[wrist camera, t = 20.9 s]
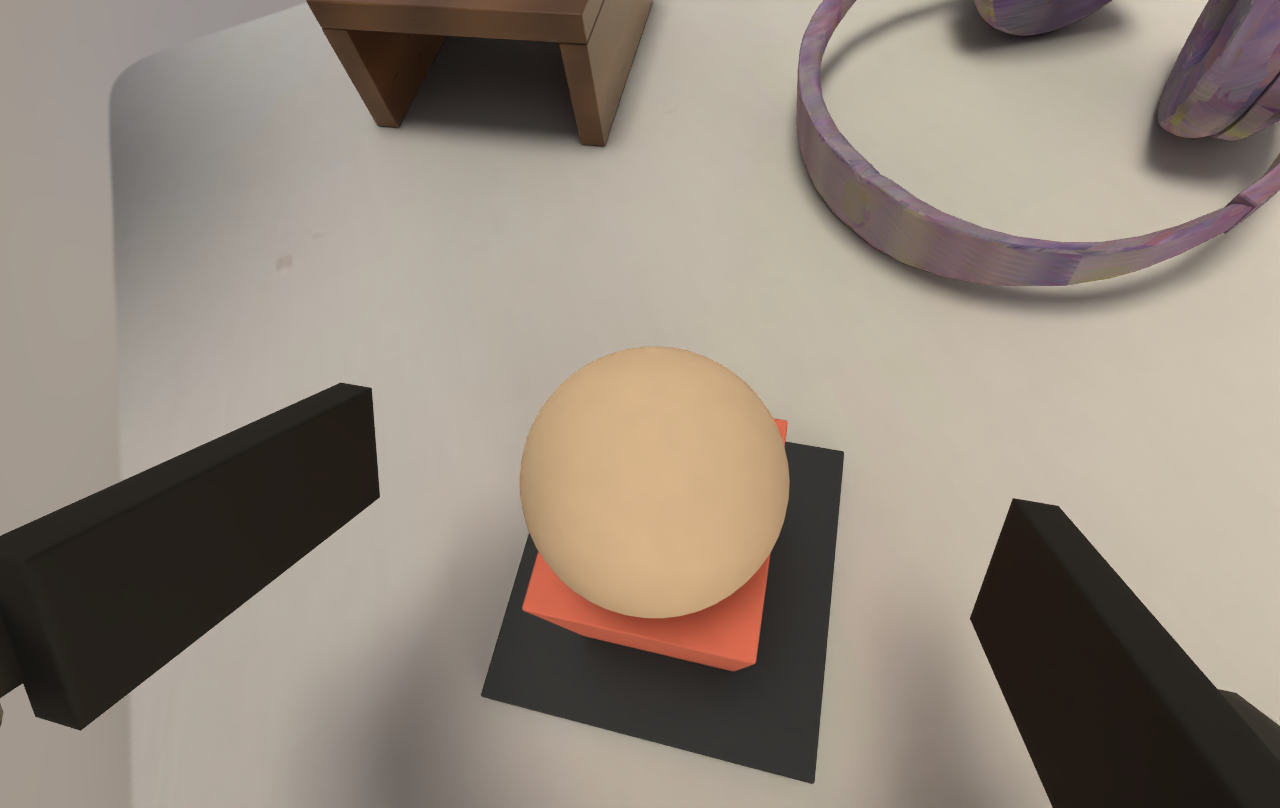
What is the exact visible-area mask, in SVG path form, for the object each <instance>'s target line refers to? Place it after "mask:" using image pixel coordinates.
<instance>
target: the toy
mask: <svg viewBox="0 0 1280 808" xmlns="http://www.w3.org/2000/svg"><path fill="white" fill-rule="evenodd" d="M787 425H788V423H787V421H786V420H780V419H774V418H773V417H772V416H771V414H770V412H769V410H768V409H767V408H766V406H765V405H764V404H763V402H762V401H761V399H760V398H759V397H758V395H757V394H756V393H755V392H754V391H753V390H752V389H751V388H750V387H749V385H748V384H747V383H746V382H744V381H743V380H742V379H741V378H740V377H738V376H737V375H736V374H735V373H733V372H732V371H730V370H729V369H727V368H725V367H724V366H722V365H721V364H719V363H717V362H715V361H713V360H710V359H708V358H706V357H704V356H702V355H699V354H696V353H693V352H690V351H686V350H681V349H676V348H668V347H640V348H633V349H627V350H623V351H619V352H615V353H612V354H609V355H607V356H604V357H602V358H599V359H597V360H595V361H593V362H591V363H589V364H588V365H586V366H584V367H583V368H581V369H580V370H578V371H577V372H575V373H574V374H573V375H571V376H570V377H569V378H568V379H567V380H566V381H564V382H563V383H562V384H561V385H560V386H559V387H558V388H557V390H556V391H555V392H554V393H553V394H552V395H551V396H550V397H549V399H548V400H547V402H546V403H545V404H544V406H543V407H542V409H541V410H540V412H539V413H538V415H537V417H536V419H535V421H534V423H533V424H532V427H531V429H530V432H529V435H528V437H527V440H526V444H525V448H524V452H523V456H522V462H521V471H520V496H521V502H522V508H523V513H524V517H525V520H526V524H527V527H528V530H529V533H530V535H531V537H532V539H533V542H534V544H535V546H536V548H537V550H538V554H537V558H536V561H535V565H534V568H533V572H532V575H531V579H530V582H529V585H528V589H527V592H526V596H525V599H524V603H523V606H522V610H524V611H525V612H528V613H530V614H533V615H535V616H537V617H540V618H542V619H544V620H547V621H549V622H552V623H554V624H556V625H559V626H561V627H564V628H566V629H568V630H571V631H573V632H575V633H578V634H580V635H583V636H586V637H590V638H594V639H598V640H603V641H607V642H611V643H615V644H620V645H624V646H628V647H632V648H636V649H641V650H645V651H649V652H653V653H657V654H662V655H666V656H670V657H674V658H678V659H683V660H687V661H691V662H695V663H699V664H704V665H708V666H712V667H716V668H720V669H725V670H729V671H733V672H734V671H737V670H740V669H742V668H745V667H748V666H751V665H753V664H755V663H756V658H757V650H758V643H759V635H760V628H761V620H762V613H763V605H764V597H765V590H766V582H767V575H768V567H769V560H770V553H771V551H772V549H773V547H774V545H775V543H776V541H777V539H778V537H779V534H780V531H781V528H782V525H783V522H784V519H785V514H786V509H787V504H788V499H789V482H790V481H789V469H788V461H787V457H786V452H785V448H784V447H785V440H786V432H787Z"/></svg>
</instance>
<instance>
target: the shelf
mask: <svg viewBox="0 0 1280 808" xmlns="http://www.w3.org/2000/svg"><path fill="white" fill-rule="evenodd" d="M652 1H653V0H307V3H308V5H309V7H310V9H311V10H312V12H313V14H314V16H315V17H316V19H317V21H318V23H319V24H320V26H321V27H322V30H323V32H324V34H325V35H326V37H327V39H328V41H329V42H330V44H331V46H332V48H333V49H334V51H335V53H336V55H337V56H338V58H339V60H340V61H341V63H342V65H343V67H344V68H345V70H346V72H347V74H348V75H349V77H350V79H351V81H352V82H353V84H354V86H355V88H356V89H357V91H358V93H359V94H360V96H361V98H362V100H363V101H364V103H365V105H366V107H367V108H368V110H369V112H370V114H371V115H372V117H373V119H374V121H375V122H376V124H377V125H378V126H389V127H398V126H399V125H400V123H401V121H402V119H403V117H404V115H405V113H406V111H407V109H408V108H409V106H410V104H411V102H412V100H413V98H414V96H415V94H416V92H417V91H418V89H419V87H420V85H421V83H422V81H423V79H424V77H425V75H426V74H427V72H428V70H429V68H430V66H431V64H432V62H433V60H434V59H435V57H436V55H437V53H438V51H439V49H440V47H441V45H442V43H443V42H444V40H445V38H446V36H462V37H478V38H494V39H510V40H527V41H543V42H559V46H560V51H561V55H562V60H563V64H564V69H565V74H566V78H567V83H568V87H569V92H570V96H571V101H572V106H573V110H574V115H575V119H576V124H577V128H578V133H579V138H580V142H581V144H587V145H598V146H604V145H605V142H606V139H607V136H608V133H609V130H610V127H611V124H612V121H613V118H614V115H615V112H616V109H617V106H618V103H619V100H620V97H621V94H622V91H623V88H624V85H625V82H626V79H627V76H628V73H629V70H630V67H631V64H632V61H633V58H634V55H635V52H636V49H637V46H638V43H639V40H640V37H641V34H642V31H643V28H644V25H645V22H646V19H647V16H648V13H649V10H650V7H651V4H652Z"/></svg>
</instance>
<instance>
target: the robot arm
mask: <svg viewBox="0 0 1280 808" xmlns="http://www.w3.org/2000/svg"><path fill="white" fill-rule="evenodd" d="M379 497H380V492H379V479H378V466H377V453H376V440H375V427H374V414H373V400H372V388H369V387H363V386H357V385H351V384H345V383H339V384H337V385H335V386H332V387H330V388H328V389H326V390H323V391H321V392H319V393H317V394H315V395H312V396H310V397H308V398H306V399H303V400H301V401H299V402H297V403H295V404H292V405H290V406H288V407H286V408H283V409H281V410H279V411H277V412H275V413H272V414H270V415H268V416H266V417H263V418H261V419H259V420H257V421H255V422H252V423H250V424H248V425H246V426H243V427H241V428H239V429H237V430H235V431H232V432H230V433H228V434H226V435H223V436H221V437H219V438H217V439H215V440H212V441H210V442H208V443H206V444H203V445H201V446H199V447H197V448H195V449H192V450H190V451H188V452H186V453H183V454H181V455H179V456H177V457H175V458H172V459H170V460H168V461H166V462H163V463H161V464H159V465H157V466H155V467H152V468H150V469H148V470H146V471H143V472H141V473H139V474H137V475H135V476H132V477H130V478H128V479H126V480H123V481H121V482H119V483H117V484H115V485H112V486H110V487H108V488H106V489H104V490H102V491H99V492H97V493H95V494H92V495H90V496H88V497H86V498H83V499H81V500H79V501H77V502H75V503H72V504H70V505H68V506H66V507H63V508H61V509H59V510H57V511H55V512H52V513H50V514H48V515H46V516H43V517H41V518H39V519H37V520H35V521H33V522H30V523H28V524H26V525H24V526H21V527H19V528H17V529H15V530H12V531H10V532H8V533H6V534H3V535H2V536H0V698H1V697H2V696H4V695H5V694H7V693H8V692H10V691H12V690H13V689H14V688H16V687H18V686H19V685H21V684H22V683H23V684H24V687H25V689H26V692H27V695H28V698H29V700H30V703H31V706H32V709H33V711H34V714H35V716H36V717H39V718H42V719H45V720H48V721H51V722H55V723H58V724H61V725H64V726H68V727H71V728H74V729H78V730H82V729H83V728H85V727H86V726H87V725H88V724H90V723H91V722H92V721H94V720H95V719H96V718H97V717H99V716H100V715H101V714H103V713H104V712H105V711H106V710H108V709H109V708H110V707H112V706H113V705H114V704H115V703H117V702H118V701H119V700H121V699H122V698H123V697H124V696H126V695H127V694H128V693H130V692H131V691H132V690H133V689H135V688H136V687H137V686H138V685H140V684H141V683H142V682H144V681H145V680H146V679H147V678H149V677H150V676H151V675H153V674H154V673H155V672H156V671H158V670H159V669H160V668H162V667H163V666H164V665H165V664H167V663H168V662H169V661H171V660H172V659H173V658H174V657H176V656H177V655H178V654H180V653H181V652H182V651H183V650H185V649H186V648H187V647H188V646H190V645H191V644H192V643H194V642H195V641H196V640H197V639H199V638H200V637H201V636H203V635H204V634H205V633H206V632H208V631H209V630H210V629H212V628H213V627H214V626H215V625H217V624H218V623H219V622H221V621H222V620H223V619H224V618H226V617H227V616H228V615H230V614H231V613H232V612H233V611H235V610H236V609H237V608H238V607H240V606H241V605H242V604H244V603H245V602H246V601H247V600H249V599H250V598H251V597H253V596H254V595H255V594H256V593H258V592H259V591H260V590H262V589H263V588H264V587H265V586H267V585H268V584H269V583H271V582H272V581H273V580H274V579H276V578H277V577H278V576H279V575H281V574H282V573H283V572H285V571H286V570H287V569H288V568H290V567H291V566H292V565H294V564H295V563H296V562H297V561H299V560H300V559H301V558H303V557H304V556H305V555H306V554H308V553H309V552H310V551H312V550H313V549H314V548H315V547H317V546H318V545H319V544H321V543H322V542H323V541H324V540H326V539H327V538H328V537H329V536H331V535H332V534H333V533H335V532H336V531H337V530H338V529H340V528H341V527H342V526H344V525H345V524H346V523H347V522H349V521H350V520H351V519H353V518H354V517H355V516H356V515H358V514H359V513H360V512H362V511H363V510H364V509H365V508H367V507H368V506H369V505H371V504H372V503H373V502H374V501H376V500H377V499H378V498H379ZM970 620H971V622H972V624H973V627H974V629H975V631H976V633H977V636H978V638H979V640H980V643H981V645H982V647H983V649H984V652H985V654H986V656H987V659H988V661H989V663H990V665H991V668H992V670H993V672H994V675H995V677H996V679H997V681H998V684H999V686H1000V688H1001V690H1002V693H1003V695H1004V697H1005V700H1006V702H1007V704H1008V706H1009V709H1010V711H1011V713H1012V716H1013V718H1014V720H1015V722H1016V725H1017V727H1018V729H1019V732H1020V734H1021V736H1022V738H1023V741H1024V743H1025V745H1026V748H1027V750H1028V752H1029V754H1030V757H1031V759H1032V761H1033V764H1034V766H1035V768H1036V770H1037V773H1038V775H1039V777H1040V780H1041V782H1042V784H1043V786H1044V789H1045V791H1046V793H1047V796H1048V798H1049V800H1050V802H1051V805H1052V807H1053V808H1280V726H1279V725H1278V724H1276V723H1275V722H1274V721H1273V720H1271V719H1270V718H1269V717H1267V716H1266V715H1265V714H1263V713H1262V712H1261V711H1259V710H1258V709H1257V708H1255V707H1254V706H1253V705H1251V704H1250V703H1249V702H1247V701H1246V700H1245V699H1243V698H1242V697H1241V696H1239V695H1238V694H1237V693H1233V692H1229V691H1224V690H1219V689H1217V688H1216V687H1215V686H1214V685H1213V684H1212V683H1211V681H1210V680H1209V679H1208V678H1207V677H1206V676H1205V675H1204V673H1203V672H1202V671H1201V670H1200V669H1199V668H1198V666H1197V665H1196V664H1195V663H1194V662H1193V661H1192V660H1191V658H1190V657H1189V656H1188V655H1187V654H1186V653H1185V651H1184V650H1183V649H1182V648H1181V647H1180V646H1179V645H1178V643H1177V642H1176V641H1175V640H1174V639H1173V638H1172V636H1171V635H1170V634H1169V633H1168V632H1167V631H1166V630H1165V628H1164V627H1163V626H1162V625H1161V624H1160V623H1159V621H1158V620H1157V619H1156V618H1155V617H1154V616H1153V615H1152V613H1151V612H1150V611H1149V610H1148V609H1147V608H1146V606H1145V605H1144V604H1143V603H1142V602H1141V601H1140V600H1139V598H1138V597H1137V596H1136V595H1135V594H1134V593H1133V591H1132V590H1131V589H1130V588H1129V587H1128V586H1127V585H1126V583H1125V582H1124V581H1123V580H1122V579H1121V578H1120V576H1119V575H1118V574H1117V573H1116V572H1115V571H1114V570H1113V568H1112V567H1111V566H1110V565H1109V564H1108V563H1107V561H1106V560H1105V559H1104V558H1103V557H1102V556H1101V555H1100V553H1099V552H1098V551H1097V550H1096V549H1095V548H1094V546H1093V545H1092V544H1091V543H1090V542H1089V541H1088V540H1087V538H1086V537H1085V536H1084V535H1083V534H1082V533H1081V531H1080V530H1079V529H1078V528H1077V527H1076V526H1075V525H1074V523H1073V522H1072V521H1071V520H1070V519H1069V518H1068V516H1067V515H1066V514H1065V513H1064V512H1063V511H1062V510H1061V508H1060V507H1059V506H1055V505H1049V504H1044V503H1038V502H1032V501H1026V500H1020V499H1014V498H1013V500H1012V502H1011V505H1010V508H1009V511H1008V514H1007V516H1006V519H1005V522H1004V525H1003V528H1002V530H1001V533H1000V536H999V539H998V542H997V544H996V547H995V550H994V553H993V555H992V558H991V561H990V564H989V567H988V569H987V572H986V575H985V578H984V581H983V583H982V586H981V589H980V592H979V595H978V597H977V600H976V603H975V606H974V609H973V611H972V614H971V617H970ZM2 716H3V710H2V707H1V705H0V726H1V723H2Z"/></svg>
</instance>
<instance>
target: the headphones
mask: <svg viewBox="0 0 1280 808" xmlns="http://www.w3.org/2000/svg"><path fill="white" fill-rule="evenodd" d="M855 1H856V0H823V2H822V3H821V4H820V5H819V7H818V8H817V10H816V12H815V13H814V15H813V17H812V19H811V21H810V23H809V25H808V27H807V29H806V31H805V34H804V36H803V39H802V44H801V48H800V54H799V64H798V82H797V116H796V124H797V134H798V140H799V145H800V150H801V154H802V157H803V160H804V162H805V165H806V168H807V170H808V172H809V175H810V177H811V179H812V181H813V184H814V186H815V188H816V189H817V191H818V192H819V193H820V195H821V196H822V197H823V199H824V200H825V202H826V203H827V204H828V206H829V207H830V208H831V210H832V211H833V213H834V214H835V215H836V216H837V217H838V218H839V219H841V220H842V221H843V222H844V223H845V224H846V225H848V226H849V227H851V228H852V229H853V230H854V231H855V232H856V233H857V234H858V235H859V236H860V237H861V238H862V239H864V240H865V241H866V242H867V243H869V244H870V245H871V246H873V247H874V248H876V249H878V250H880V251H882V252H884V253H886V254H887V255H889V256H891V257H893V258H895V259H897V260H898V261H900V262H902V263H904V264H907V265H910V266H913V267H916V268H919V269H922V270H925V271H928V272H932V273H935V274H938V275H941V276H944V277H947V278H952V279H958V280H963V281H969V282H974V283H979V284H990V285H1006V286H1065V285H1072V284H1078V283H1084V282H1090V281H1096V280H1103V279H1109V278H1113V277H1117V276H1120V275H1124V274H1128V273H1132V272H1135V271H1138V270H1141V269H1144V268H1146V267H1149V266H1152V265H1154V264H1157V263H1159V262H1162V261H1164V260H1167V259H1169V258H1172V257H1174V256H1177V255H1179V254H1181V253H1183V252H1185V251H1187V250H1189V249H1191V248H1193V247H1195V246H1197V245H1199V244H1201V243H1203V242H1205V241H1207V240H1209V239H1211V238H1213V237H1215V236H1217V235H1219V234H1221V233H1225V234H1226V233H1227V232H1228V231H1230V230H1231V229H1232V228H1234V227H1235V226H1236V225H1238V224H1239V223H1240V222H1242V221H1243V220H1244V219H1246V218H1247V217H1248V216H1250V215H1251V214H1252V213H1253V212H1255V211H1256V210H1257V209H1258V208H1259V207H1261V206H1262V205H1263V204H1264V203H1265V202H1267V201H1268V200H1269V199H1270V198H1271V197H1272V196H1273V195H1275V194H1276V193H1277V192H1278V191H1279V190H1280V153H1279V155H1278V156H1277V158H1276V159H1275V161H1274V162H1273V164H1272V165H1271V166H1270V168H1269V169H1268V171H1267V172H1266V173H1265V174H1264V176H1263V177H1262V178H1261V179H1259V180H1258V181H1257V182H1255V183H1254V184H1253V185H1251V186H1250V187H1248V188H1247V189H1245V190H1244V191H1242V192H1241V193H1239V194H1238V195H1237V196H1236V197H1235V198H1234V199H1233V200H1232V201H1231V202H1230V203H1229V204H1228V205H1226V206H1225V207H1224V208H1222V209H1219V210H1217V211H1214V212H1212V213H1209V214H1207V215H1204V216H1202V217H1199V218H1197V219H1194V220H1192V221H1189V222H1187V223H1184V224H1182V225H1179V226H1175V227H1172V228H1168V229H1165V230H1161V231H1158V232H1154V233H1151V234H1147V235H1144V236H1139V237H1133V238H1126V239H1119V240H1113V241H1106V242H1056V241H1048V240H1040V239H1032V238H1024V237H1017V236H1013V235H1009V234H1005V233H1001V232H997V231H993V230H989V229H986V228H982V227H980V226H977V225H974V224H972V223H969V222H967V221H964V220H962V219H959V218H956V217H954V216H951V215H949V214H946V213H944V212H941V211H939V210H938V209H936V208H934V207H932V206H930V205H929V204H927V203H925V202H923V201H921V200H920V199H918V198H916V197H915V196H913V195H912V194H910V193H909V192H908V191H906V190H905V189H903V188H902V187H900V186H899V185H897V184H896V183H895V182H893V181H892V180H890V179H888V178H886V177H884V176H882V175H880V173H879V172H878V171H877V170H876V169H875V168H874V167H873V166H872V165H871V164H870V163H869V162H868V161H867V160H866V159H865V158H864V157H863V156H861V155H860V154H859V153H858V152H857V151H856V150H855V149H854V148H853V147H852V145H851V144H850V143H849V142H848V141H847V140H846V139H845V137H844V136H843V135H842V134H841V133H840V132H839V130H838V129H837V127H836V125H835V123H834V121H833V119H832V118H831V116H830V114H829V112H828V110H827V108H826V105H825V103H824V100H823V97H822V92H821V85H820V67H821V61H822V56H823V54H824V51H825V49H826V46H827V43H828V41H829V39H830V38H831V36H832V34H833V32H834V30H835V28H836V27H837V25H838V24H839V23H840V21H841V20H842V18H843V17H844V16H845V14H846V13H847V11H848V10H849V9H850V8H851V6H852V5H853V4H854V3H855ZM1110 1H1112V0H974V3H975V6H976V8H977V10H978V12H979V14H980V15H981V16H982V17H983V19H984V20H985V21H986V22H987V23H988V24H990V25H991V26H992V27H994V28H996V29H998V30H1000V31H1002V32H1005V33H1009V34H1013V35H1021V36H1027V35H1037V34H1042V33H1047V32H1051V31H1054V30H1057V29H1060V28H1062V27H1065V26H1067V25H1070V24H1072V23H1074V22H1076V21H1078V20H1081V19H1083V18H1084V17H1086V16H1088V15H1090V14H1092V13H1093V12H1095V11H1097V10H1098V9H1100V8H1101V7H1103V6H1104V5H1106V4H1107V3H1109V2H1110ZM1279 121H1280V0H1209V1H1208V3H1207V4H1206V6H1205V8H1204V10H1203V11H1202V13H1201V15H1200V17H1199V18H1198V20H1197V22H1196V24H1195V26H1194V27H1193V29H1192V31H1191V33H1190V35H1189V37H1188V39H1187V41H1186V43H1185V44H1184V46H1183V48H1182V50H1181V52H1180V54H1179V56H1178V59H1177V61H1176V63H1175V65H1174V68H1173V70H1172V72H1171V74H1170V77H1169V79H1168V81H1167V83H1166V86H1165V89H1164V91H1163V94H1162V97H1161V100H1160V104H1159V108H1158V123H1159V124H1160V125H1161V126H1162V127H1163V128H1164V129H1165V130H1166V131H1168V132H1170V133H1172V134H1174V135H1176V136H1180V137H1185V138H1199V137H1205V136H1210V137H1213V138H1218V139H1223V140H1228V141H1238V140H1241V139H1244V138H1246V137H1248V136H1250V135H1252V134H1254V133H1256V132H1258V131H1260V130H1262V129H1264V128H1266V127H1268V126H1270V125H1272V124H1274V123H1276V122H1279Z"/></svg>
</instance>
